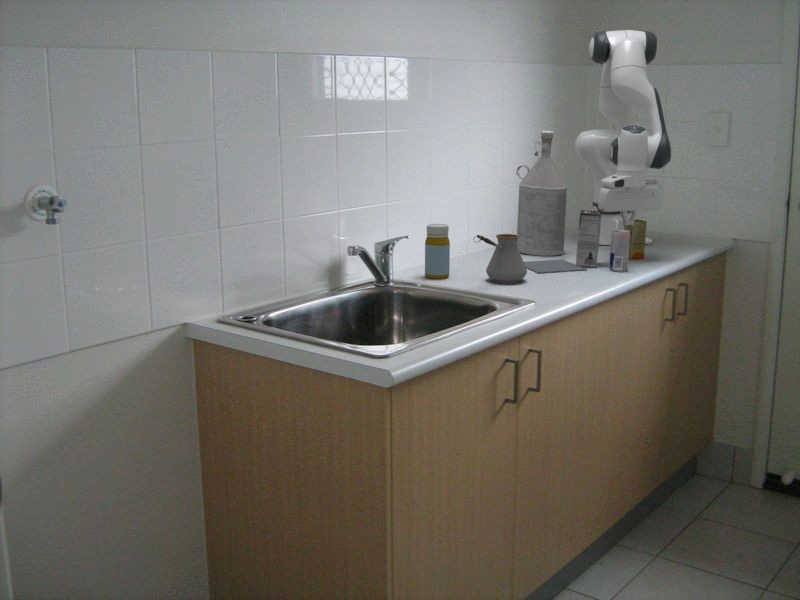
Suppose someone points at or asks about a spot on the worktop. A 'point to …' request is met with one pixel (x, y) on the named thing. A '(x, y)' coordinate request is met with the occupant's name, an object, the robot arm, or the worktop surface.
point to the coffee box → (588, 238)
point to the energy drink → (619, 250)
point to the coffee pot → (505, 260)
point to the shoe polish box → (637, 239)
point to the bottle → (437, 251)
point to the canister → (542, 205)
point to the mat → (552, 266)
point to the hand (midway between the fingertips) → (628, 225)
